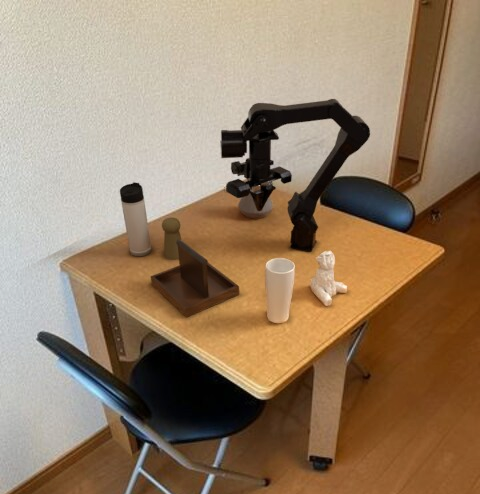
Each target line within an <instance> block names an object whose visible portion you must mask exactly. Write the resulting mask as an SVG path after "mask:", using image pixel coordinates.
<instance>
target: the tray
mask: <svg viewBox="0 0 480 494" xmlns="http://www.w3.org/2000/svg"><path fill="white" fill-rule="evenodd" d="M176 244H177V245H178V254H179V258H178V262H179V265H177V266H174V267H172V268H169V269H166V270H163V271H161V272H159V273H155V274H153V275H150V284H151V285H152V286H153V287H154V288H155V289H156V290H157V291H158V292H159V293H160V294H161V295H162V296H163V297H164V298H165V299H167V300H168V302H170V303H171V305H173V306H174V307H175V308H176V309H177V310H178V311H179V312H180V313H181V314H182V315H183V316H185V318H188V317H191V316H192V315H195V314H198V313H200V312H202V311H204V310H207V309H209V308H211V307H214V306H216V305H218V304H220V303H222V302H225V301H227V300H230V299H231V298H232V299H233V298H234V297H236V296H239V295H240V286H239V285H238V284H237V283H236V282H234V281H233V280H232V279H231V278H229V277H228V276H227V275H225V274H224V273H223V272H222V271H220V270H218V268H216V266H215V267H214V265H212V264H211V263H209V262H208V261H209V260H208V259H207V258H205V257H204V256H203V255H201V254H200V253H199V252H198V251H196V250H195V249H194V248H192V247H191V246H190V245H188V244H187V243H186V242H185V241H184V240H182V239H181V240H180V239H179V240H177V242H176Z"/></svg>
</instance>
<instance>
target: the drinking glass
mask: <svg viewBox="0 0 480 494" xmlns="http://www.w3.org/2000/svg"><path fill="white" fill-rule="evenodd" d="M295 278H296V264H295V263H294V262H293V260H290V259H288V258H284V257H275V258H272V259H269V260H268V261H267V262H266V263H265V269H264V286H265V300H266V318H267V319H268V321H270V322H271V323H273V324H284V323H286V322H287V321H288V320H289V319H290V309H291V303H292V297H293V292H294V285H295Z"/></svg>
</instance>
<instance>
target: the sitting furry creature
mask: <svg viewBox="0 0 480 494" xmlns="http://www.w3.org/2000/svg"><path fill="white" fill-rule="evenodd" d="M314 260H315V261H316V262H317V263H318V265H319V267H318V268H317V270H316V272H315V275H314V276H313V277H311V278H310V280H309V282H310V283H309V284H310V285H309V287H310V290H311V291H312V293H313V294H314V295H315V296H316V298H317V299H318V300H319V301H320V302H321V303H322V304H323V305H324V306H326V307H329V306H331V304H332V303H333V298H332V297H334V296H336V295H337V294H338V293H339V294H340V293H341V294H347V290H348V286H347V285H346V284H344V283H343V282H340V281H336V280H335V272H334V268H335V264H336V258H335V253H333V251H332V250H331V249H330V250H324V251H323V252H321V253H320V254H319V255H318V256H315V258H314Z"/></svg>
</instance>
